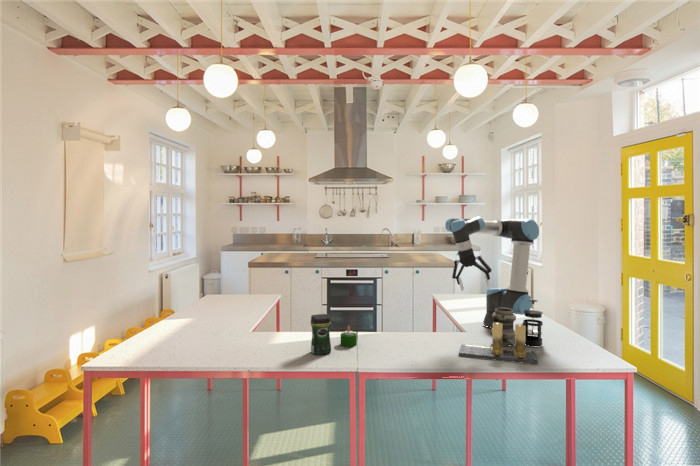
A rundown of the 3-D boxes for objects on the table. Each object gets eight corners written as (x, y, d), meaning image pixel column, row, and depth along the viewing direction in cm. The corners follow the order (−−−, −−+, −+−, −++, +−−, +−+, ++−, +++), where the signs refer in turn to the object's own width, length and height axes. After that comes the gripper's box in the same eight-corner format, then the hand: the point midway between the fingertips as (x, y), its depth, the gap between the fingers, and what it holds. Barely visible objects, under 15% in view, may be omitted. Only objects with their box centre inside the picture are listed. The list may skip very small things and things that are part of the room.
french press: (532, 340, 220) (533, 297, 219) (547, 345, 211) (548, 300, 210) (516, 343, 215) (516, 299, 214) (530, 348, 207) (531, 302, 206)
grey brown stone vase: (504, 348, 207) (504, 312, 206) (485, 342, 217) (486, 308, 217) (520, 345, 212) (521, 310, 212) (502, 339, 223) (502, 305, 222)
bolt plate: (458, 355, 196) (459, 324, 195) (461, 347, 209) (461, 317, 208) (537, 364, 184) (538, 330, 184) (535, 354, 197) (535, 323, 197)
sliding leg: (491, 355, 192) (491, 326, 191) (491, 349, 200) (492, 321, 199) (502, 356, 190) (503, 327, 190) (502, 350, 198) (503, 322, 198)
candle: (343, 341, 218) (343, 322, 218) (358, 343, 215) (358, 324, 215) (338, 346, 210) (338, 326, 210) (353, 348, 207) (353, 328, 207)
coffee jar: (328, 349, 205) (328, 312, 205) (332, 354, 198) (332, 315, 197) (309, 351, 203) (309, 313, 202) (312, 356, 195) (312, 317, 194)
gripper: (439, 255, 217) (450, 293, 219) (488, 245, 205) (499, 286, 207) (443, 252, 224) (453, 289, 225) (490, 242, 212) (501, 281, 213)
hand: (475, 288), depth 216 cm, fingers open, 13 cm apart
